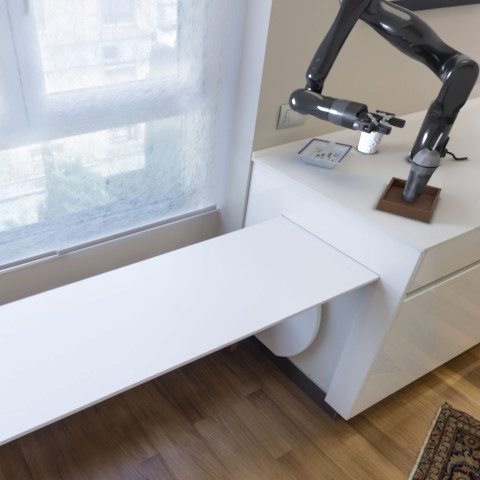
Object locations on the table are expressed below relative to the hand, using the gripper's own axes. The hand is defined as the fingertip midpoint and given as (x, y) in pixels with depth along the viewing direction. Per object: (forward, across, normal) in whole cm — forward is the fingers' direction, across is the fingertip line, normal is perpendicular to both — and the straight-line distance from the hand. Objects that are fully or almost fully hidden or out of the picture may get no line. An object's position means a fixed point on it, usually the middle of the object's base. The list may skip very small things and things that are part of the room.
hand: (397, 127), depth 128 cm
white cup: (-19, +29, +20) cm, 40 cm away
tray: (+11, 0, +20) cm, 22 cm away
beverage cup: (+10, +2, +19) cm, 22 cm away
